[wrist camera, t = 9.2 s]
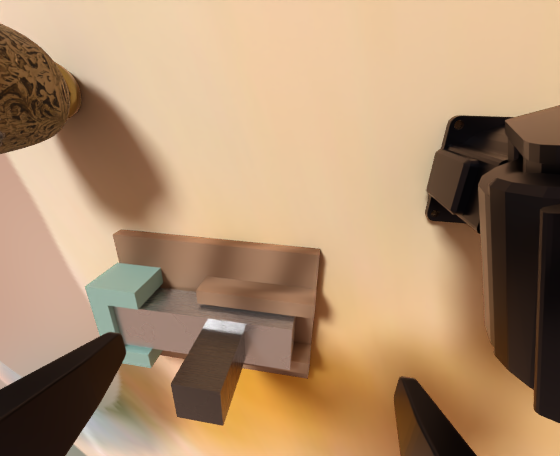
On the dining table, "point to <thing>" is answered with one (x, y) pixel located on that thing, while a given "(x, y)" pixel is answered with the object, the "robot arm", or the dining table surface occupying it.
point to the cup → (32, 93)
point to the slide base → (235, 279)
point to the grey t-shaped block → (207, 346)
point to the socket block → (124, 302)
